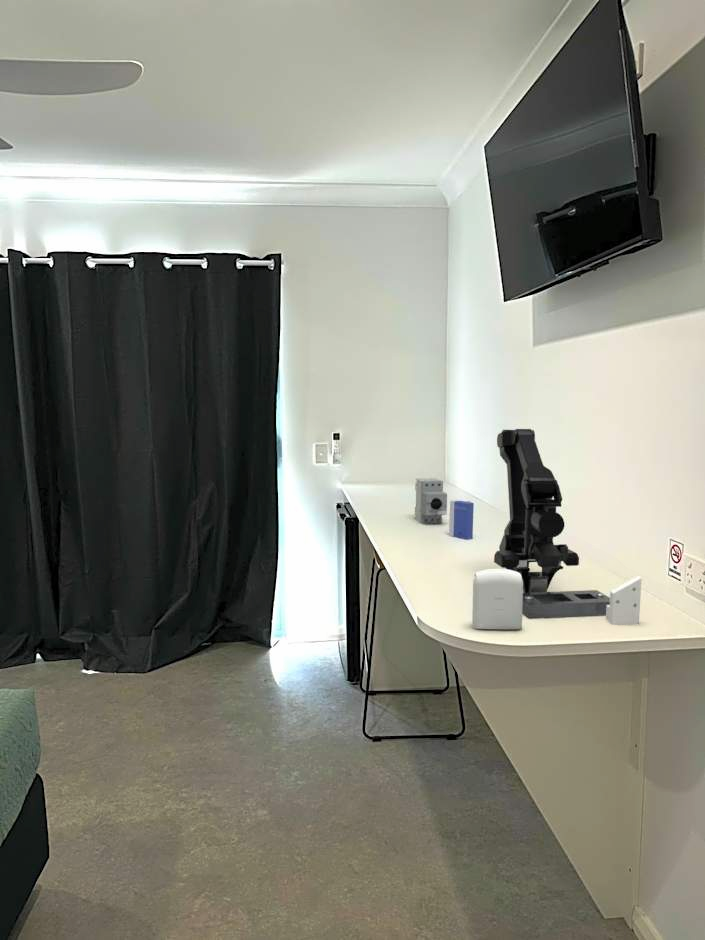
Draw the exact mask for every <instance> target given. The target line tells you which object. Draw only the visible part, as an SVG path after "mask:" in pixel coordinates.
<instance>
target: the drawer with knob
mask: <svg viewBox="0 0 705 940" xmlns="http://www.w3.org/2000/svg"><path fill="white" fill-rule="evenodd" d="M547 579H549V576H547V575H546V574H544V573H542V571H529V573H528V593H535V592H548V589H547Z"/></svg>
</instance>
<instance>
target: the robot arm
mask: <svg viewBox="0 0 705 940" xmlns="http://www.w3.org/2000/svg"><path fill="white" fill-rule="evenodd" d="M496 445H497V448H499V449H498V450H499V455H500V457H501V458H502V460H503V461H504V463H505V464H506V471H507V489H508V491H507V492H508V506H509V507H508V508H509V521H508V523H507V524H506V526H505V529H504V531H503V532H504V533H503V536H502V539H501V540H500V544H499V547H498V548H499V550H497V551H496V552H495V553H494V556H493V557H494V558H493V563H495V564H496V565H497V566H500V567H501V568H502V569H508V570H513V571H516V572H519V573H520V574H521V576H522V580H523V593H528V573H529V572H531V568H530V563H537V564H536V565H537V566H538V567H540V568H541V572H542V573H544V574H546V575H547V576H549V579H547V590H548V589H549V587H550V584H551V582H552V580H553V578H554V576H555V574H557V572H559V571H560V570H563V569H564V566H562V562H563V564H564V565H565V566H566V567H571V566H580V557H579V554H578V553H577V552H575V551H574V550H572V549H569V546H568V545H567V544H566V543H562V544H554V538H555V537H558V536H560V535H561V534H562V533H563V531H564V529H565V521H564V518H563V516H562V515H561V514H560V513H558V512H557V508H559V507H562V501H563V497H562V492H561V488H560V486H559V484H558V480H557V479H556V477H555V475H554V474H553V471H552V470H551V469H550V468H548V467H546V466H545V465H544V462H543V460H542V458H541V453H540V451H539V448H538V445H537V442H536V434H535V430H534V429H531V428H515V429H502V431H501V432H499V433H498V434H497V437H496Z"/></svg>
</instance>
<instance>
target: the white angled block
mask: <svg viewBox="0 0 705 940" xmlns="http://www.w3.org/2000/svg"><path fill="white" fill-rule="evenodd" d="M641 594H642V577H640V576H639V575H637V576H635V577H633V578H632V579H629V580H628V581H626V582H624V583H623V584H621V585H619V586H617V587H616V588H613V589H612V590H610V595H609V598H610V605H606V615H605V620H606V619H607V620H608V621H607V622H608V623H610V624H611V625H640V611H641Z"/></svg>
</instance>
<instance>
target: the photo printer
mask: <svg viewBox="0 0 705 940" xmlns="http://www.w3.org/2000/svg"><path fill="white" fill-rule="evenodd" d="M523 593H524V591H523V580H522V576H521V574H520V573H519V572H516V571H513V570H508V569H506V568H488V569H483V570H479V571H477V572H475V573H474V577H473V581H472V612H471V614H472V616H471V617H472V618H471V619H472V622H471V623H472V624H471V627H472V628H473V629H476V630H521V629H522V628H523V613H522V607H523Z"/></svg>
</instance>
